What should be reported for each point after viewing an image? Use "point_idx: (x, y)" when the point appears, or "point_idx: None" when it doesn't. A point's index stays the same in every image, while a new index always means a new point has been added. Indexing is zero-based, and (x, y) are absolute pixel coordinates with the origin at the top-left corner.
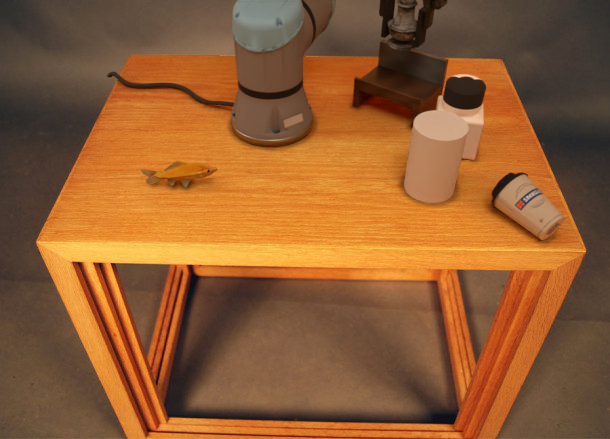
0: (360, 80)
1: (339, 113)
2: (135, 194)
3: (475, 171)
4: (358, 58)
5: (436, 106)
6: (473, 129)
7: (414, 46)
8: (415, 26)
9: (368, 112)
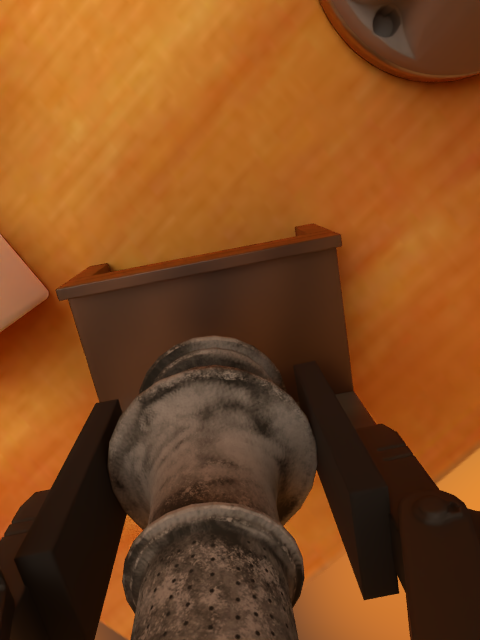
0: (312, 239)
1: (317, 160)
2: None
3: None
4: (475, 443)
5: (4, 308)
6: None
7: (114, 400)
8: (132, 481)
9: (254, 234)
